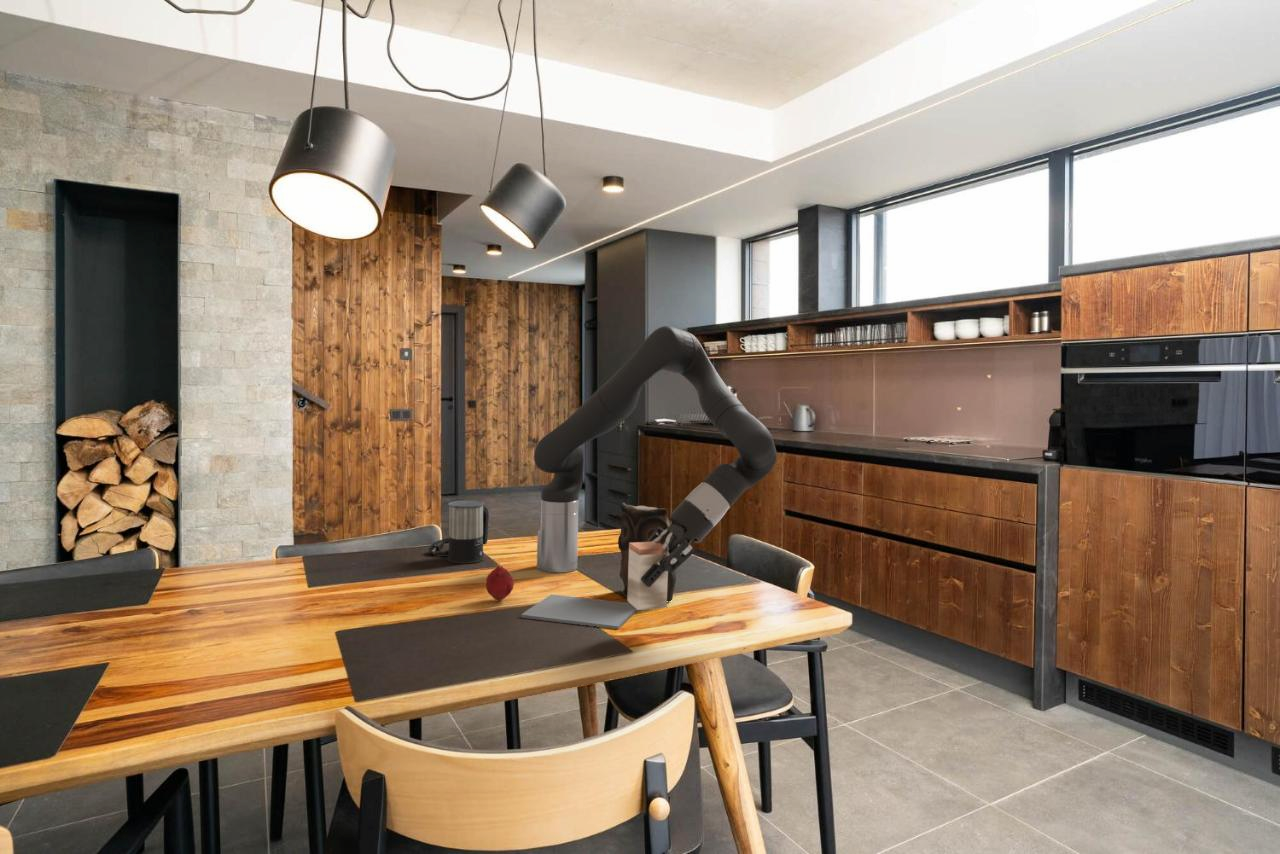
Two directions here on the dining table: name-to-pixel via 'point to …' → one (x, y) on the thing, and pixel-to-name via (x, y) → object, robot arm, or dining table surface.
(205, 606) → the dining table surface
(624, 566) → the owl
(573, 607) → the mat
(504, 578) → the onion
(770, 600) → the dining table surface
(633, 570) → the block
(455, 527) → the milk frother
